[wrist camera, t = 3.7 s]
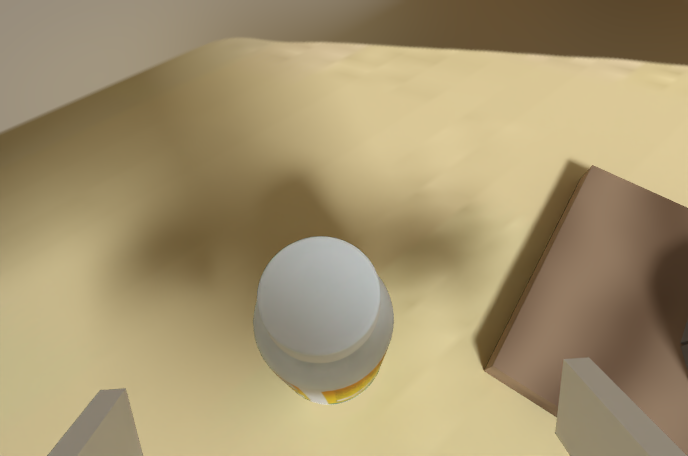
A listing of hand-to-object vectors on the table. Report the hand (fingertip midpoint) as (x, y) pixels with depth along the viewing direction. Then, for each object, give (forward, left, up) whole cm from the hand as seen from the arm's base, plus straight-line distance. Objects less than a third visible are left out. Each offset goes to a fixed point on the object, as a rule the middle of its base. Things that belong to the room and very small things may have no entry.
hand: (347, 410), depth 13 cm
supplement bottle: (-3, +2, -9) cm, 9 cm away
